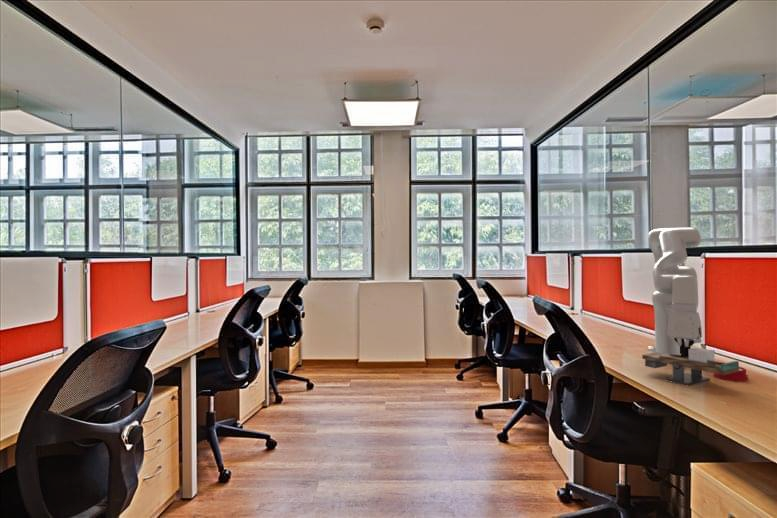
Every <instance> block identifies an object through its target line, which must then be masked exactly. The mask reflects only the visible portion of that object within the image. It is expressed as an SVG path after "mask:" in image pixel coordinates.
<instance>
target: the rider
mask: <svg viewBox="0 0 777 518" xmlns="http://www.w3.org/2000/svg"><path fill="white" fill-rule="evenodd" d="M689 361H694V362H699V363H704V364H710V365H714V361H715V350H712V349H707V348H702V347H692V348H691V349H689Z"/></svg>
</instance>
